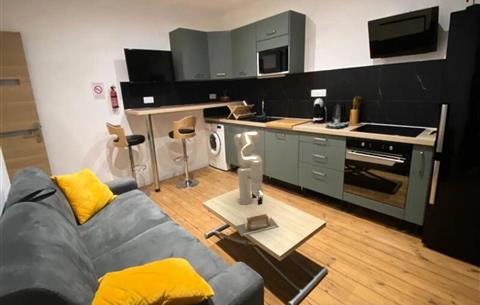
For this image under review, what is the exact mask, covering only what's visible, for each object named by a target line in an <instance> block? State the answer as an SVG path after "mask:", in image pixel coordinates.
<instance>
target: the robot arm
mask: <svg viewBox="0 0 480 305" xmlns="http://www.w3.org/2000/svg"><path fill="white" fill-rule="evenodd" d="M233 140H234V142H233V143H234V144H235V146H236V149H237V161H238V164H239V165H240V167H238V168H237V176H238V177H237V178H238V186H239V199H238V200H237V201H238V202H237V203H239V204H240V205H243V206H246V205H250V204H252V203H253V201H254V200H253V199H257V206H261V205H263V198H264V195H263V191H264V190H263V158H262V157H261V155H257V153H256V152H253V151H254V150H255V148H256V147H255V146H256V145H255V144H256V143H258V142H260V134H259V132H258V131H256V130H252V131H243V132H242V133H237V134H234V136H233ZM249 178H250V179H249Z"/></svg>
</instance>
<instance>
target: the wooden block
mask: <svg viewBox="0 0 480 305" xmlns="http://www.w3.org/2000/svg"><path fill="white" fill-rule="evenodd" d="M268 218H269V216H268V215H267V213H264V214H259V215H254V216H251V217H247V218H246V223H247V226H248V230H249V231H253V230H257V229H261V228H265V227H268Z"/></svg>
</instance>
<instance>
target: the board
mask: <svg viewBox="0 0 480 305" xmlns="http://www.w3.org/2000/svg"><path fill="white" fill-rule="evenodd" d="M235 228H236V230H237V231H238V233H239V235H240V236H241V237H244V236H245V237H246V236H248V235H253V234H256V233H260V232H261V233H262V232H265V231H268V230H273V229H277V228H280V226H279V225H278V224H277V222H275V220H274V219H273V218H272V217H268V227H265V228H261V229H257V230H253V231H249V230H248V226H247V222H246V223H243V224H238V225H235Z"/></svg>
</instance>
